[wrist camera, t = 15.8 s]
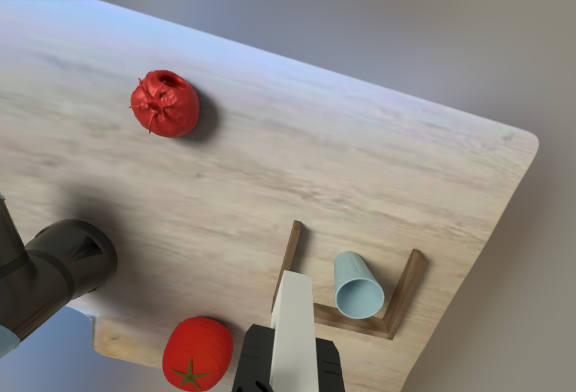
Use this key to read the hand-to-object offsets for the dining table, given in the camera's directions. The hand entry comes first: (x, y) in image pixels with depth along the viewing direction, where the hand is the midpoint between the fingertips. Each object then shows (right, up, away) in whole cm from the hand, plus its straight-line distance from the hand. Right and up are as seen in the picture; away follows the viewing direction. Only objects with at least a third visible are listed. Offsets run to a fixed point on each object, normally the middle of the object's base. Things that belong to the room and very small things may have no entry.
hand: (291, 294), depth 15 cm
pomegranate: (-19, +20, +31) cm, 41 cm away
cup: (+12, -8, +38) cm, 41 cm away
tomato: (-18, -24, +45) cm, 54 cm away
